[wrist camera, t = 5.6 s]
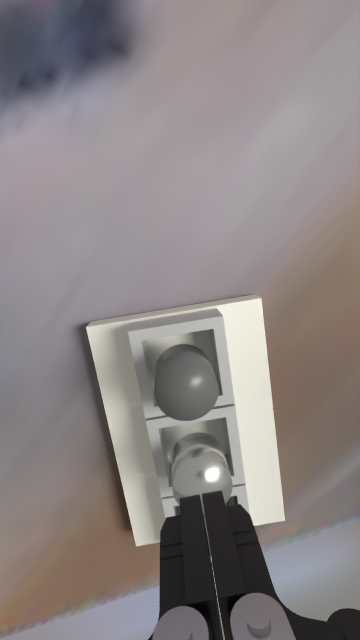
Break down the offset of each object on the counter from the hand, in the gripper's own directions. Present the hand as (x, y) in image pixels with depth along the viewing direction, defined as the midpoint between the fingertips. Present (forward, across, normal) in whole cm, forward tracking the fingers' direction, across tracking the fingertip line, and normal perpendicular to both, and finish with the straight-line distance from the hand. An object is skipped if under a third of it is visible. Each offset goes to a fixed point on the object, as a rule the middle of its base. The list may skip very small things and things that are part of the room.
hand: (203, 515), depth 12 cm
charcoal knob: (+13, 0, 0) cm, 13 cm away
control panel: (+18, 0, +7) cm, 20 cm away
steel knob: (+13, 0, +7) cm, 15 cm away
